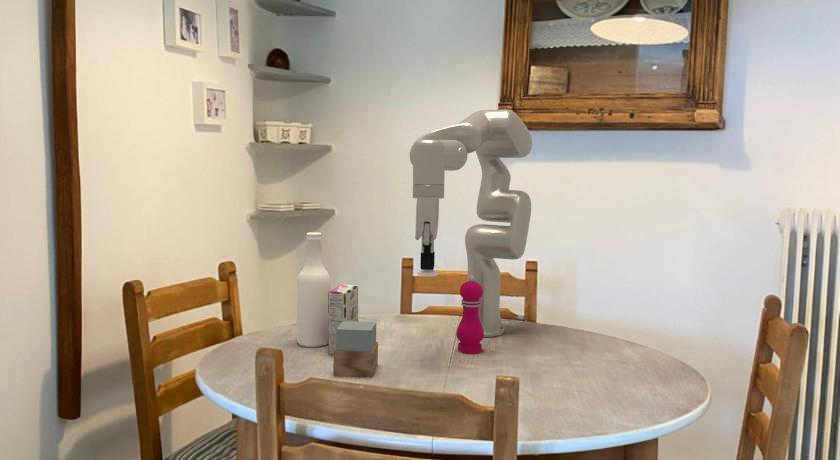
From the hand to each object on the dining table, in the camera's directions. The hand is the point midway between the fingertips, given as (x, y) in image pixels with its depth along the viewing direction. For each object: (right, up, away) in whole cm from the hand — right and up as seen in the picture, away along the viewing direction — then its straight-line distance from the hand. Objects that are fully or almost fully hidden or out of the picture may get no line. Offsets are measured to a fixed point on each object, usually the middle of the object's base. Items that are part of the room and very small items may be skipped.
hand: (427, 267), depth 155 cm
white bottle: (-30, -22, +19) cm, 42 cm away
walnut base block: (-17, -24, -4) cm, 30 cm away
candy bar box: (-22, -22, +13) cm, 34 cm away
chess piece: (0, -2, 0) cm, 2 cm away
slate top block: (-17, -18, -5) cm, 25 cm away
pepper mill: (+11, -23, +14) cm, 29 cm away
